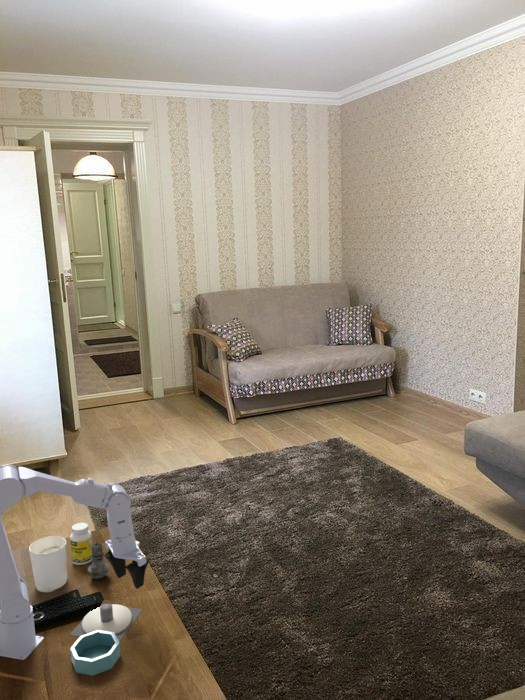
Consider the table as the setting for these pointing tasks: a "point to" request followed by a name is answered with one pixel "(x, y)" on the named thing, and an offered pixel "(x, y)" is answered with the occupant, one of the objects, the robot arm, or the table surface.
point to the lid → (107, 619)
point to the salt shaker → (97, 562)
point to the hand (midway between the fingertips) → (130, 581)
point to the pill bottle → (81, 544)
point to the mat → (135, 612)
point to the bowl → (95, 652)
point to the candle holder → (49, 563)
